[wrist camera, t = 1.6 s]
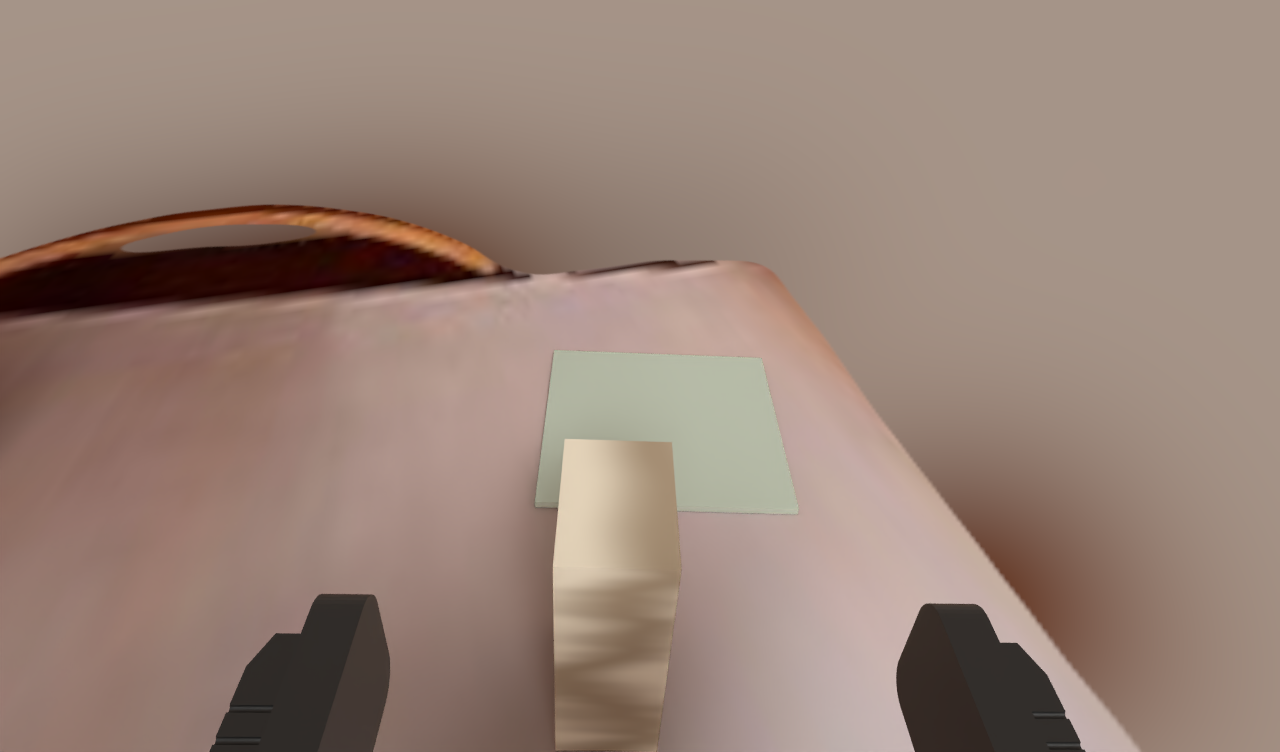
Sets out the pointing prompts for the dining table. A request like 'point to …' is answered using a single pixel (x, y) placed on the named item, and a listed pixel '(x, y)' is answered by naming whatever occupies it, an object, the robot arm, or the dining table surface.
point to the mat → (674, 425)
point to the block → (614, 593)
